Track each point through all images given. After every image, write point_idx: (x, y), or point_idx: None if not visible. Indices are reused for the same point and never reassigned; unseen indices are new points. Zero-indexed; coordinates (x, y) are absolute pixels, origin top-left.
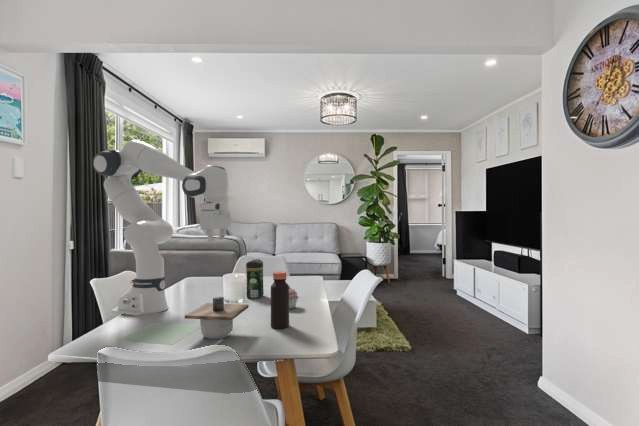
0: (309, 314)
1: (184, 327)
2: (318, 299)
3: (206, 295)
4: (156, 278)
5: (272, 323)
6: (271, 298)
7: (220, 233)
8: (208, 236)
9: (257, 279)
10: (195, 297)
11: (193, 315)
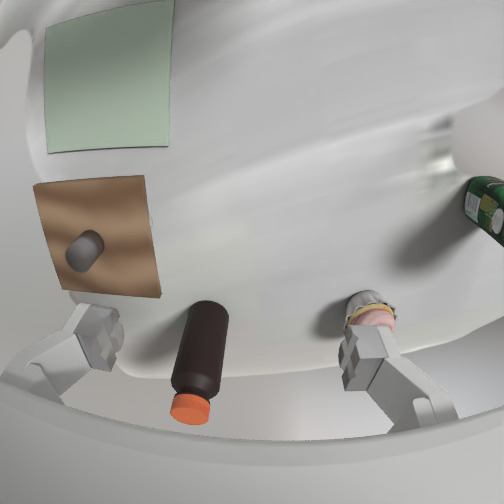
0: (303, 349)
1: (140, 106)
2: (423, 343)
3: (500, 46)
4: None
5: (190, 311)
6: (182, 350)
7: (398, 373)
8: (57, 337)
9: (497, 237)
10: (478, 16)
11: (39, 207)
